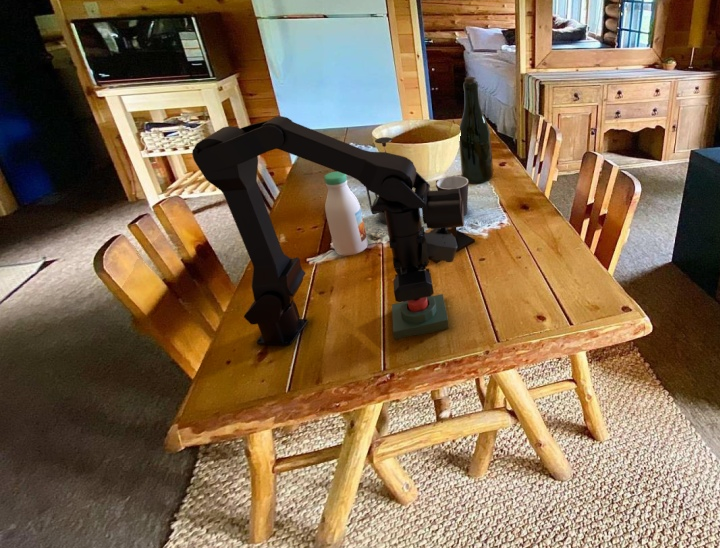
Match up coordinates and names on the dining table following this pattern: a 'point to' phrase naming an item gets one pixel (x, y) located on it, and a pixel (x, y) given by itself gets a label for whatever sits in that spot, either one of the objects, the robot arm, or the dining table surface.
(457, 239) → the lever switch
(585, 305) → the dining table surface
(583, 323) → the dining table surface
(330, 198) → the milk bottle
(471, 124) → the wine bottle
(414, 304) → the button
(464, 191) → the coffee mug
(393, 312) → the button box
